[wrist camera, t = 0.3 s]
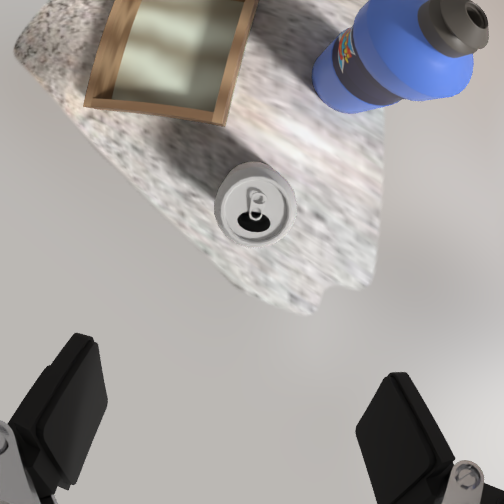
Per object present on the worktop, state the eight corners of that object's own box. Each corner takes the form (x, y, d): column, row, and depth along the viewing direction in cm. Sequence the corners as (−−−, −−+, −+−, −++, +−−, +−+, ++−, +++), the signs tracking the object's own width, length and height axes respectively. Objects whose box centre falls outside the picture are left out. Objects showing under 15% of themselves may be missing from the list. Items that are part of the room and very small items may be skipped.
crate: (141, -9, 27) (126, -28, 21) (258, 1, 28) (261, -20, 23) (105, 110, 33) (83, 106, 27) (225, 127, 34) (221, 123, 29)
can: (217, 215, 38) (205, 246, 27) (228, 155, 36) (220, 160, 24) (276, 226, 39) (289, 261, 27) (289, 167, 36) (309, 178, 25)
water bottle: (388, 68, 32) (528, 17, 8) (367, 127, 34) (517, 123, 11) (324, 35, 30) (419, -73, 7) (299, 95, 33) (391, 21, 10)
